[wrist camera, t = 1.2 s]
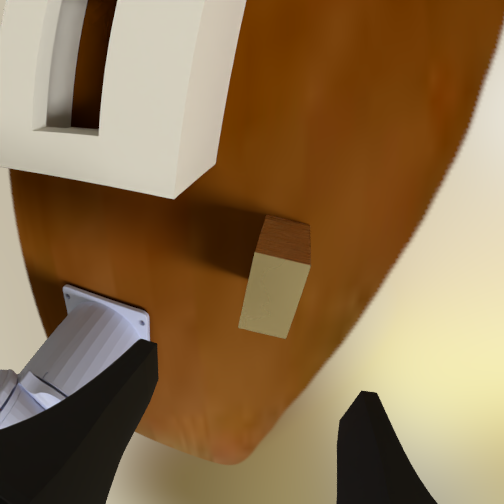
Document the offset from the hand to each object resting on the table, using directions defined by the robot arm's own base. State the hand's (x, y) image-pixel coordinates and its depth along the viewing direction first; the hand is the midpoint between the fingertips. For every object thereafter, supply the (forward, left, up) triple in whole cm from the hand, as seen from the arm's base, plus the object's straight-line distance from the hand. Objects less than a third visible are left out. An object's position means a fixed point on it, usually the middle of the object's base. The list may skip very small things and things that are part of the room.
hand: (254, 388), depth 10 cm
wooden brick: (0, 0, -10) cm, 10 cm away
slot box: (+10, +10, -10) cm, 17 cm away
